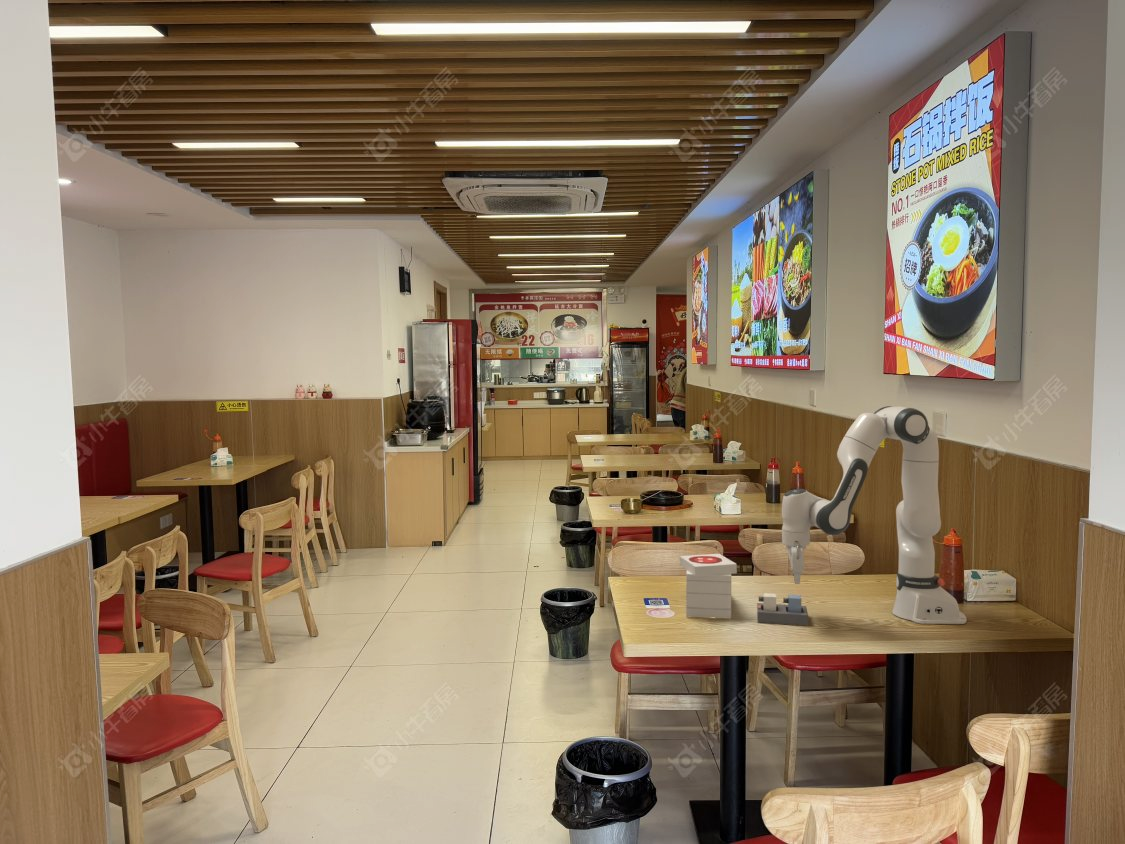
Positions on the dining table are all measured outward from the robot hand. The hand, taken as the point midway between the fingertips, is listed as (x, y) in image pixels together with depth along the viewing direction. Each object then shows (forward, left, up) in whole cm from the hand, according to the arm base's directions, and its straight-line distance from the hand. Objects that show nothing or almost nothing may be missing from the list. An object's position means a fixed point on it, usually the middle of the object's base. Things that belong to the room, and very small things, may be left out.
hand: (796, 579), depth 255 cm
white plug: (+8, 0, -14) cm, 16 cm away
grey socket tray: (+4, 0, -14) cm, 14 cm away
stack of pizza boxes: (+30, -9, -14) cm, 34 cm away
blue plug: (0, 0, -14) cm, 14 cm away
